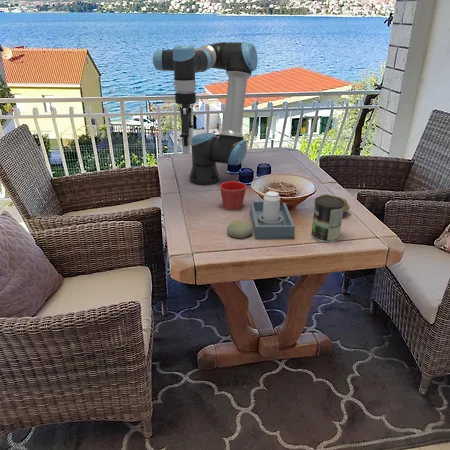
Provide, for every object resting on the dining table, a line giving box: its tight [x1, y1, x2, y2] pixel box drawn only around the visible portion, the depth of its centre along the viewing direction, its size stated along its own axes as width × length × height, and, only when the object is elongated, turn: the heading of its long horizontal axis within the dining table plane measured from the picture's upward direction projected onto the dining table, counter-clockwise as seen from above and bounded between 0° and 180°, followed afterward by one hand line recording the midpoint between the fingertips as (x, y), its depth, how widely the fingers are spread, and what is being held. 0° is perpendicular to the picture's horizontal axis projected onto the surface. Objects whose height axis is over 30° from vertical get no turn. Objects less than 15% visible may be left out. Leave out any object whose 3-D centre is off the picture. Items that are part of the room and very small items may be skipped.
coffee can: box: [310, 195, 345, 244], centre depth 146 cm, size 10×10×14 cm
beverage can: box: [263, 190, 281, 222], centre depth 155 cm, size 6×6×12 cm
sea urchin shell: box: [226, 220, 254, 239], centre depth 150 cm, size 9×8×8 cm
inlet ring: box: [258, 214, 284, 226], centre depth 157 cm, size 10×10×2 cm
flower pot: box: [219, 180, 247, 211], centre depth 172 cm, size 11×11×10 cm
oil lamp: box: [320, 193, 351, 214], centre depth 167 cm, size 11×15×8 cm
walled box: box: [249, 200, 296, 240], centre depth 157 cm, size 24×14×5 cm, turn 1°
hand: (187, 149), depth 156 cm, fingers open, 13 cm apart
